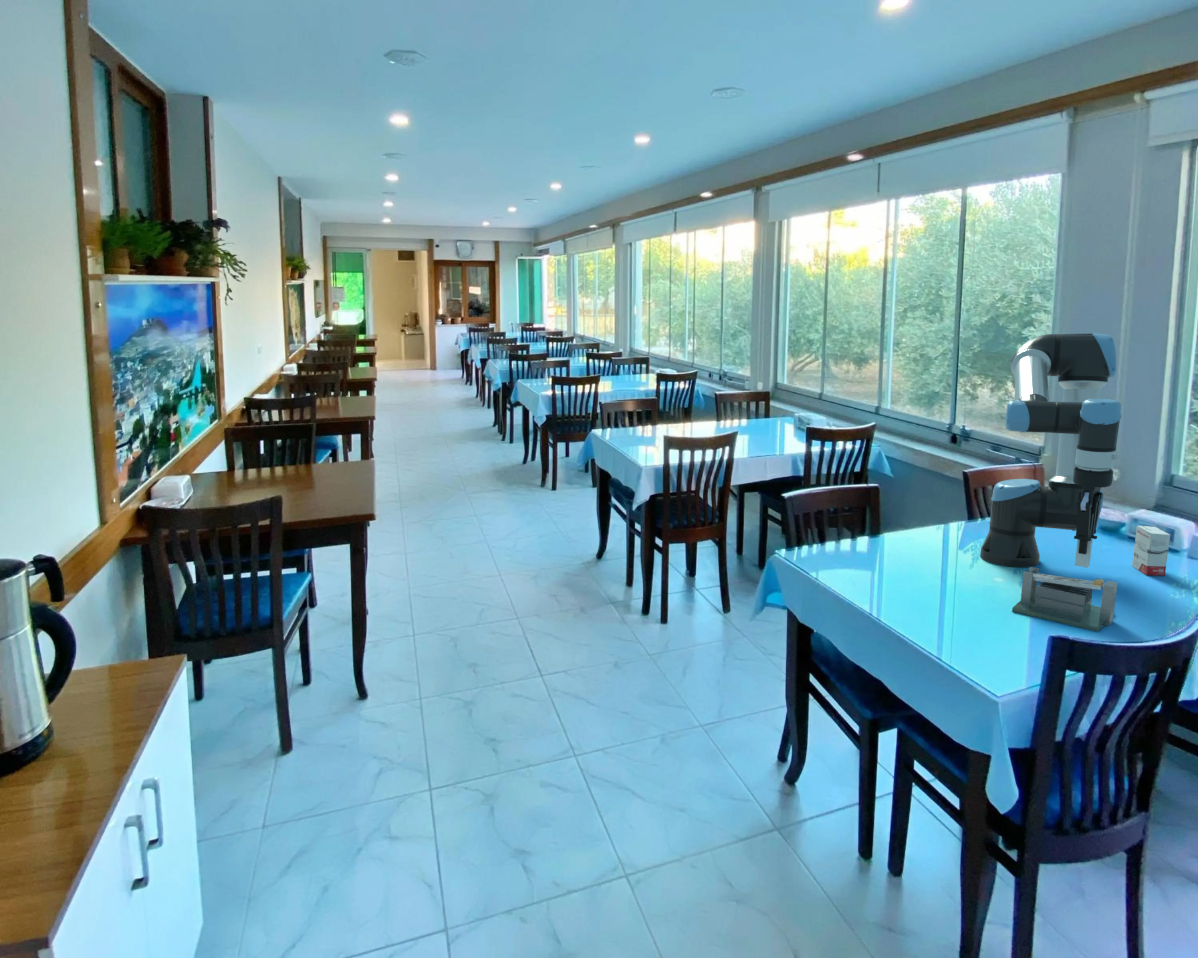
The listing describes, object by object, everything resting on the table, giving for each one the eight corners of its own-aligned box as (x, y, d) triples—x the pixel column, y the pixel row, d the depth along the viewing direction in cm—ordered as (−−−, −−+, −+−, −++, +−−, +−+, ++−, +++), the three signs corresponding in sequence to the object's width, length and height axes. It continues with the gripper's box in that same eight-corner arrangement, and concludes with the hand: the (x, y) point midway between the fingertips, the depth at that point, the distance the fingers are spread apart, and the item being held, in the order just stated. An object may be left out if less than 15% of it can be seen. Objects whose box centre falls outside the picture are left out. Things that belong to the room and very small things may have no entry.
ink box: (1166, 576, 206) (1172, 534, 204) (1145, 575, 207) (1151, 533, 205) (1150, 566, 215) (1156, 525, 212) (1130, 565, 216) (1136, 525, 213)
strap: (1025, 579, 187) (1026, 573, 187) (1030, 576, 189) (1030, 569, 189) (1100, 590, 176) (1100, 583, 176) (1104, 586, 179) (1104, 579, 178)
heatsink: (1012, 611, 186) (1015, 574, 184) (1029, 595, 195) (1033, 560, 193) (1103, 632, 173) (1108, 593, 170) (1117, 614, 182) (1122, 576, 180)
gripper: (1106, 474, 167) (1093, 576, 173) (1119, 464, 176) (1107, 561, 182) (1067, 470, 172) (1056, 569, 178) (1082, 460, 181) (1071, 555, 187)
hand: (1082, 565), depth 180 cm, fingers closed
